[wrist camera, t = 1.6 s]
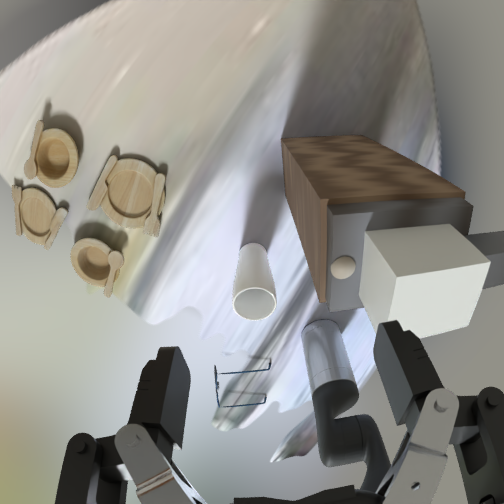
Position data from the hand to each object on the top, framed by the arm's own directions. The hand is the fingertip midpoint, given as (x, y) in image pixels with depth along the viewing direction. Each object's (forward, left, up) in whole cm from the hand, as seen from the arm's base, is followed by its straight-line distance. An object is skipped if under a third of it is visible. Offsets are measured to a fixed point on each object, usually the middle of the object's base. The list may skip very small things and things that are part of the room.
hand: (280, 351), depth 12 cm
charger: (-12, -13, -11) cm, 21 cm away
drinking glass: (-16, +12, -43) cm, 47 cm away
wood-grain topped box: (-9, -8, -42) cm, 44 cm away
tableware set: (+13, +33, -43) cm, 56 cm away
